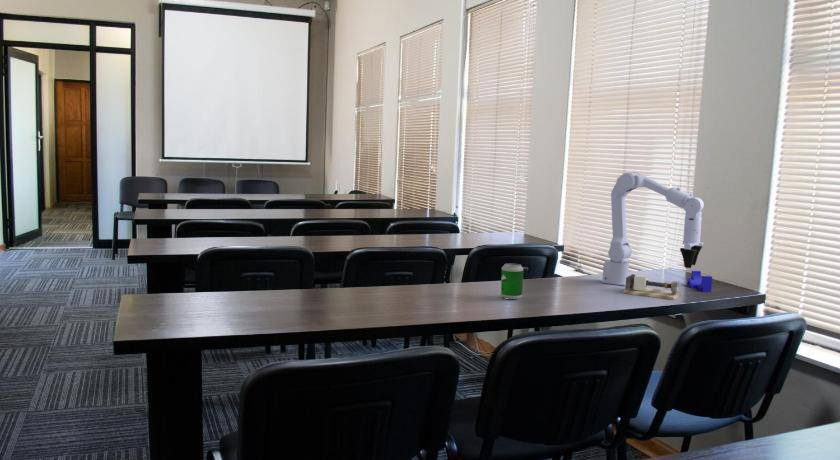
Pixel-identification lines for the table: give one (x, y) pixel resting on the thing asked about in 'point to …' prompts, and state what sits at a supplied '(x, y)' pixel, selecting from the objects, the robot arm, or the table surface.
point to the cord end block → (641, 282)
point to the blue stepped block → (700, 281)
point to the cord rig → (653, 292)
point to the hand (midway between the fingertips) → (690, 266)
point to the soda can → (512, 281)
